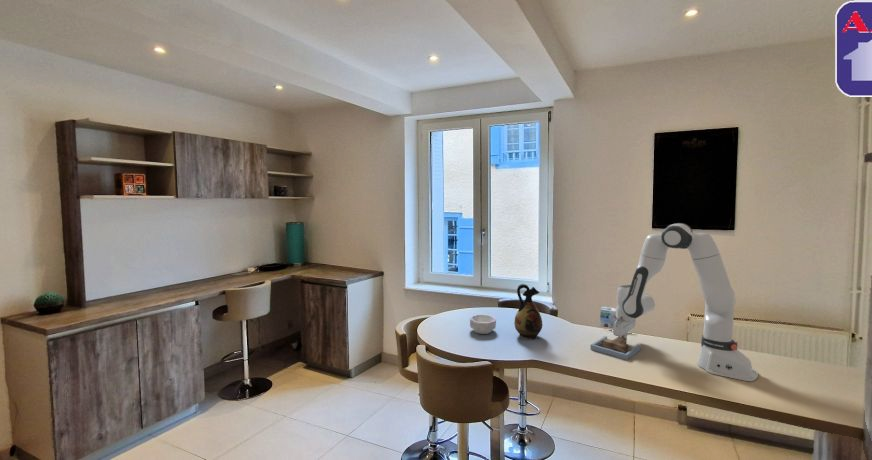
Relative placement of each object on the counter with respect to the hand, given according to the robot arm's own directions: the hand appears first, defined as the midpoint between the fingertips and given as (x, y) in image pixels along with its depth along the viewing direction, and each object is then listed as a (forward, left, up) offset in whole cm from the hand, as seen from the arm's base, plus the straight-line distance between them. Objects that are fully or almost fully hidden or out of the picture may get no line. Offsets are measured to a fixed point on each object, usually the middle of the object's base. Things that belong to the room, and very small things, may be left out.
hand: (623, 339), depth 215 cm
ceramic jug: (+43, +28, -2) cm, 51 cm away
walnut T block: (0, +8, -2) cm, 8 cm away
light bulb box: (+17, -21, -2) cm, 28 cm away
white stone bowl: (+66, +39, -2) cm, 76 cm away
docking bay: (0, +11, -2) cm, 11 cm away
